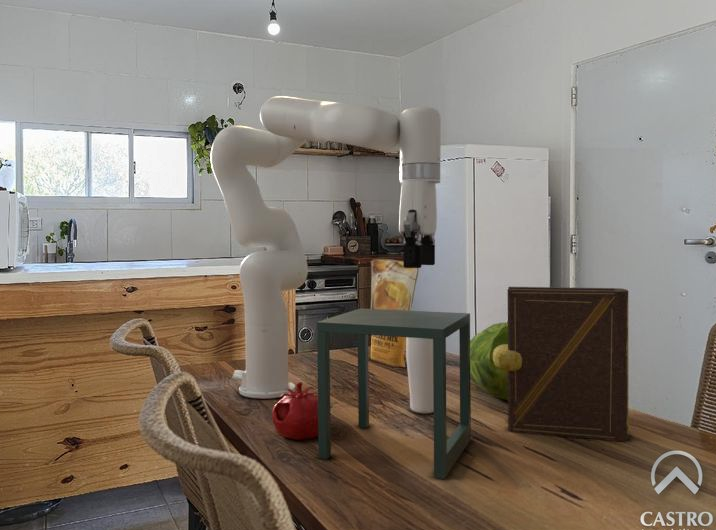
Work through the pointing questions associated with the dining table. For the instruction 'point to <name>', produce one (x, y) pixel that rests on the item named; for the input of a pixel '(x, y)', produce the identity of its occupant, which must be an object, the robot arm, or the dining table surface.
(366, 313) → the bench
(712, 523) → the dining table surface
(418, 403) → the white paper cup
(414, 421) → the dining table surface
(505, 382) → the lettuce
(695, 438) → the dining table surface
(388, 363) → the pancake mix bag
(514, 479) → the dining table surface
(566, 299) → the book
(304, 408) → the pomegranate
